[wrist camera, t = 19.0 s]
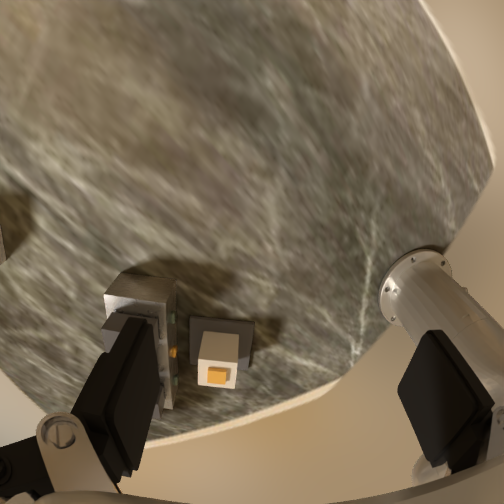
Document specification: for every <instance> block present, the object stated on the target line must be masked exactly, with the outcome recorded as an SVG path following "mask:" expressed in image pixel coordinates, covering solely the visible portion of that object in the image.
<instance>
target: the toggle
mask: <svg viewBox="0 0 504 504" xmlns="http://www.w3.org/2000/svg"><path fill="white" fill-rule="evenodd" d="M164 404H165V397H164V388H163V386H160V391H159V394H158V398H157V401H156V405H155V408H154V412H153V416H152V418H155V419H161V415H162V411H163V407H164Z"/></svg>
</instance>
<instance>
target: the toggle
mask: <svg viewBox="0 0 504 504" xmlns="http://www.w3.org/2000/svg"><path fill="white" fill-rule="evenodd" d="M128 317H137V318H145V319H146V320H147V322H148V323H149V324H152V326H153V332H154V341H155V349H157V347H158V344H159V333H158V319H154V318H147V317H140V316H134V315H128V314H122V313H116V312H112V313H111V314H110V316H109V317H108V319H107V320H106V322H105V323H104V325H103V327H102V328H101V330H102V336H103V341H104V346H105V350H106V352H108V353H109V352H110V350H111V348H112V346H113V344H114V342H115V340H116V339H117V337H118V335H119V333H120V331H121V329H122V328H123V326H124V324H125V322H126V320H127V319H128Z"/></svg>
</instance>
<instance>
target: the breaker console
mask: <svg viewBox="0 0 504 504" xmlns="http://www.w3.org/2000/svg"><path fill="white" fill-rule="evenodd" d="M104 300H105V307H106V314H107V319H108V317H109V316H110V314H111V313H112V312H116V313H122V314H128V315H134V316H140V317H147V318H154V319H158V333H159V344H158V347H157V349H156V356H157V363H158V370H159V377H160V386H163V388H164V397H165V404H164V407H163V408H166V409H172V410H173V406H174V402H175V398H176V394H177V389H178V385H179V374H178V346H177V311H176V279H169V278H161V277H153V276H145V275H137V274H129V273H122V272H121V273H120V274H119V275H118V276H117V278H116V279H115V280H114V282H113V283H112V284H111V285H110V287H109V288H108V289H107V291H106V292H105V293H104Z"/></svg>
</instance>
